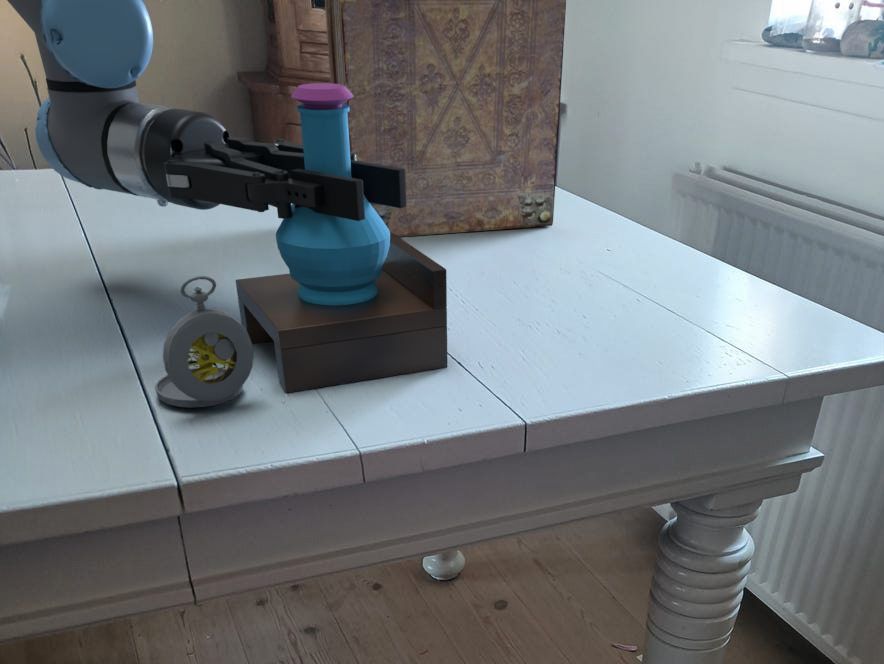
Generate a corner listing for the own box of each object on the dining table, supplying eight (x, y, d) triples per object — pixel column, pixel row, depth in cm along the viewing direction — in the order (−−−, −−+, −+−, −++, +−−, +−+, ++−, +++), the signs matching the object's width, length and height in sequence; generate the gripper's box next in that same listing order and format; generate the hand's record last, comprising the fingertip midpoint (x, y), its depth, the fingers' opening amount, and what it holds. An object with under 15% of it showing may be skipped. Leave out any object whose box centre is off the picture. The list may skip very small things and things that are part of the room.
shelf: (286, 393, 73) (273, 290, 68) (243, 336, 83) (229, 243, 78) (447, 367, 78) (446, 269, 73) (389, 316, 88) (384, 227, 83)
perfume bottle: (347, 318, 73) (331, 98, 64) (259, 297, 76) (231, 87, 67) (414, 288, 79) (408, 84, 70) (329, 270, 83) (313, 75, 74)
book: (353, 240, 110) (332, -81, 91) (339, 221, 116) (316, -81, 98) (553, 226, 116) (571, -77, 97) (529, 209, 123) (540, -77, 104)
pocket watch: (190, 374, 76) (167, 246, 70) (279, 390, 74) (263, 259, 68) (126, 412, 70) (94, 275, 64) (220, 430, 68) (197, 291, 62)
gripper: (254, 186, 89) (450, 224, 78) (102, 223, 77) (308, 272, 67) (242, 96, 84) (449, 123, 74) (79, 121, 73) (296, 157, 62)
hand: (381, 194), depth 70 cm, fingers open, 4 cm apart
